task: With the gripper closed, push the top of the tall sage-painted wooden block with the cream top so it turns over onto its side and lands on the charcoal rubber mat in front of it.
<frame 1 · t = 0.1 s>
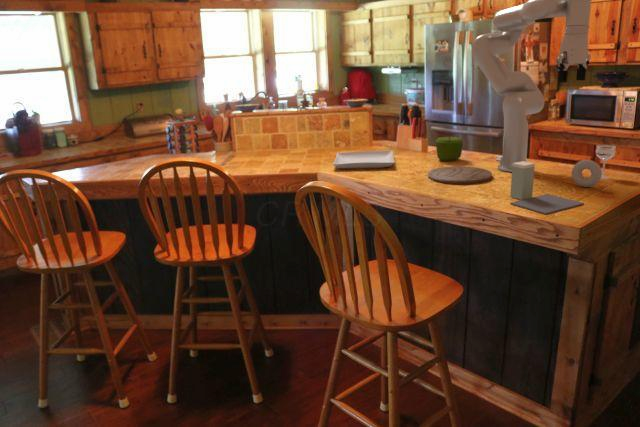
hand: (571, 81, 191), 37 cm above the worktop, tool pointing down, fingers open, 9 cm apart
sage block: (521, 197, 183), on the worktop
green rounded piece: (448, 160, 245), on the worktop
trivet: (459, 178, 215), on the worktop
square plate: (364, 164, 247), on the worktop
wineglass: (602, 177, 204), on the worktop
donut: (584, 187, 192), on the worktop
charcoal mat: (546, 204, 174), on the worktop
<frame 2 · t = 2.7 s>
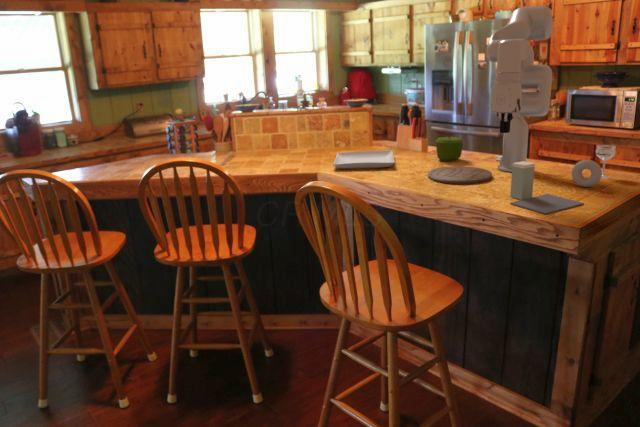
hand: (504, 132, 184), 21 cm above the worktop, tool pointing down, fingers closed
nothing on the worktop moved.
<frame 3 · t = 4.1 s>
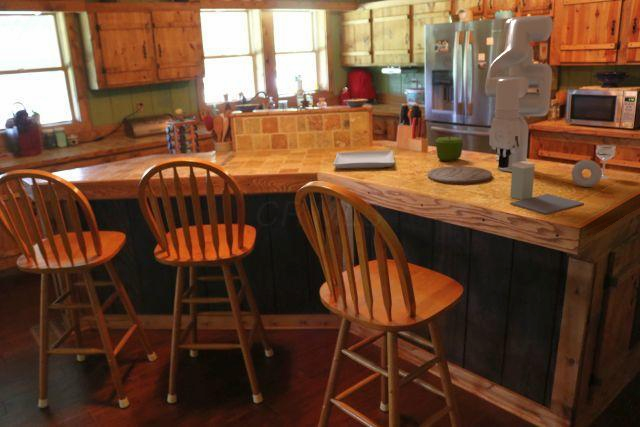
hand: (503, 167, 188), 9 cm above the worktop, tool pointing down, fingers closed
nothing on the worktop moved.
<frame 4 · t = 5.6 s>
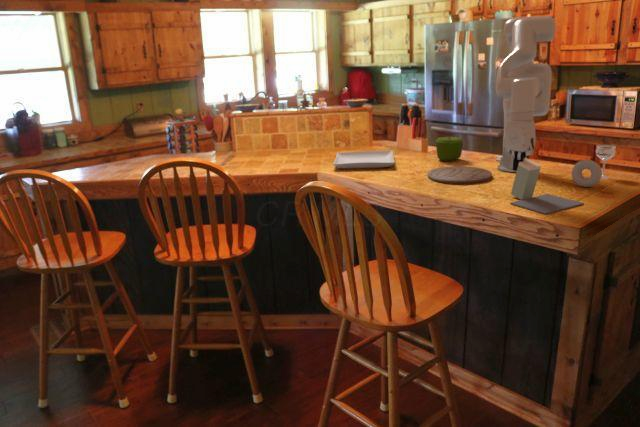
hand: (517, 170, 182), 9 cm above the worktop, tool pointing down, fingers closed
sage block: (521, 195, 183), point 1 cm above the worktop, tilted 13°, touching gripper
everything else where it was.
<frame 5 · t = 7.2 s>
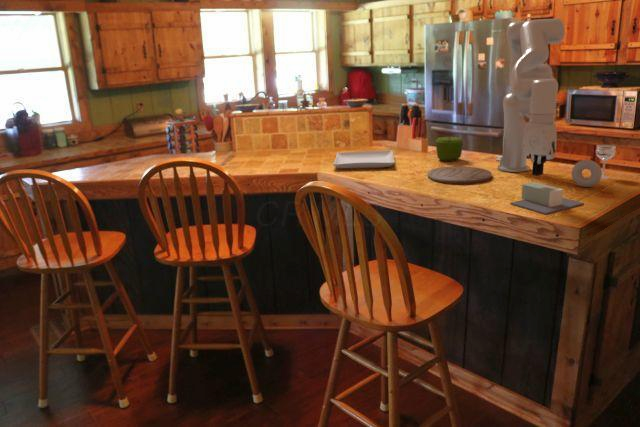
hand: (537, 174, 175), 9 cm above the worktop, tool pointing down, fingers closed
sage block: (527, 190, 180), point 3 cm above the worktop, tilted 90°, touching charcoal mat
everything else where it was.
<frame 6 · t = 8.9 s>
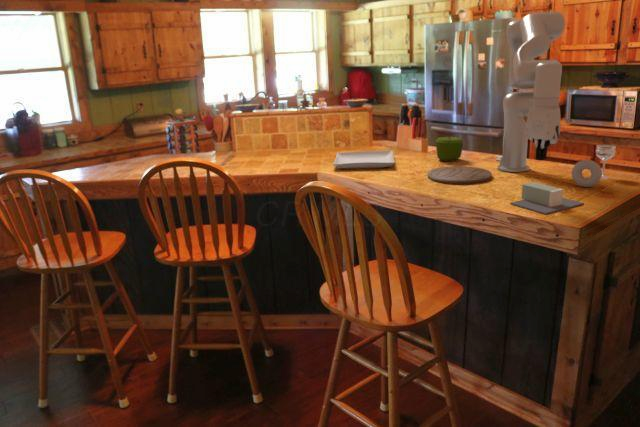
hand: (540, 159, 173), 14 cm above the worktop, tool pointing down, fingers closed
nothing on the worktop moved.
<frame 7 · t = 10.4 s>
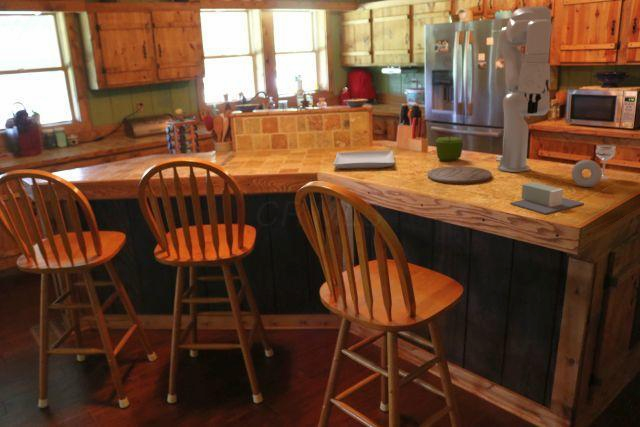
hand: (532, 112, 187), 27 cm above the worktop, tool pointing down, fingers closed
nothing on the worktop moved.
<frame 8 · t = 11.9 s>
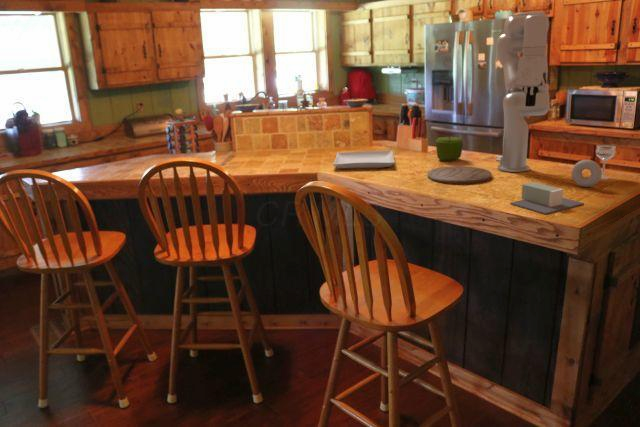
hand: (530, 105, 190), 29 cm above the worktop, tool pointing down, fingers closed
nothing on the worktop moved.
at the end: sage block tilted 90°; sage block touching charcoal mat; the gripper is holding nothing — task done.
